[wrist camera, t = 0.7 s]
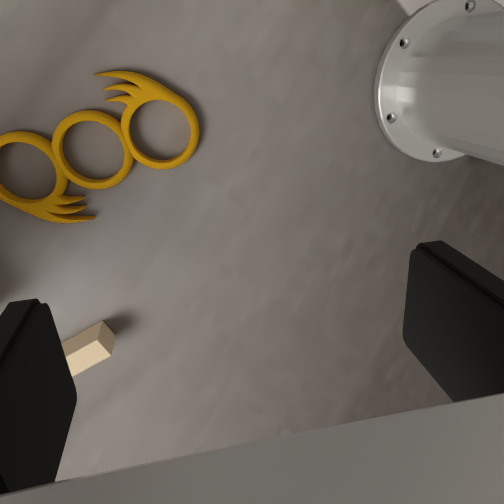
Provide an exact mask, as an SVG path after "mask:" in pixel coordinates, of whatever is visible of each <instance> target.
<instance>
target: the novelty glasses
mask: <svg viewBox="0 0 504 504" xmlns="http://www.w3.org/2000/svg"><path fill="white" fill-rule="evenodd" d="M95 75H97V76H111V77H117V78H121V79H126V80H128V81H130V82H133V83H134V84H136V85H132V84H115V85H112V86H109V87H107V88H105V89H103V90H123V91H125V92H128V93H129V94H130V95H120V96H116V97H113V98H110V99H107V100H104V101H119V102H124V103H126V104H127V106H126V108H125V109H124V112H123V114H122V117H121V123H120V122H119V121H118V120H116V119H115V118H113V117H112V116H110V115H108V114H106V113H103V112H99V111H94V110H83V111H79V112H76V113H73V114H71V115H69V116H67V117H66V118H65V119H63V120H62V121H61V122H60V123H59V125H58V126H57V128H56V130H55V132H54V134H53V138H52V143H51V142H50V141H49V140H47V139H46V138H44V137H42V136H40V135H37V134H34V133H31V132H25V131H14V132H9V133H6V134H3V135H1V136H0V148H1V147H2V146H4V145H5V144H7V143H11V142H23V143H28V144H31V145H33V146H35V147H37V148H39V149H40V150H42V151H43V152H44V153H45V154H46V155H47V156H48V157H49V158H50V159H51V161H52V163H53V165H54V167H55V170H56V175H57V181H56V186H55V188H54V190H53V192H52V193H51V194H50V195H48V196H46V197H44V198H41V199H33V200H31V199H24V198H21V197H18V196H16V195H14V194H12V193H10V192H9V191H8V190H7V189H5V187H4V186H3V185H2V184H1V183H0V199H1V200H2V201H4V202H6V203H7V204H9V205H12V206H14V207H16V208H18V209H20V210H22V211H25V212H27V213H29V214H31V215H33V216H36V217H38V218H41V219H44V220H48V221H52V222H58V223H75V222H81V221H86V220H90V219H94V218H95V217H96V216H73V215H66V214H70V213H75V212H78V211H80V210H82V209H84V208H85V207H86V205H80V206H68V205H64V204H70V203H74V202H76V201H79V200H82V199H84V197H85V196H66V195H64V194H63V193H64V191H65V190H66V187H67V184H68V179H69V180H71V181H72V182H74V183H75V184H77V185H79V186H82V187H85V188H89V189H105V188H109V187H112V186H114V185H116V184H118V183H119V182H121V181H122V180H123V179H124V178H125V177H126V176H127V174H128V173H129V171H130V169H131V167H132V164H133V160H134V158H135V159H136V160H137V161H139V162H140V163H142V164H143V165H146V166H148V167H151V168H155V169H170V168H174V167H176V166H179V165H181V164H182V163H184V162H185V161H186V160H188V159H189V158H190V156H191V155H192V154H193V152H194V151H195V149H196V146H197V143H198V140H199V124H198V120H197V117H196V115H195V113H194V111H193V109H192V108H191V106H190V105H189V104H188V103H187V102H186V101H185V100H184V99H183V98H182V97H180V96H179V95H177V94H175V93H174V92H172V91H171V90H169V89H168V88H166V87H165V86H163V85H162V84H160V83H158V82H156V81H155V80H153V79H151V78H149V77H147V76H144V75H141V74H138V73H135V72H129V71H111V72H104V73H99V74H95ZM151 100H164V101H168V102H171V103H173V104H175V105H176V106H177V107H179V108H180V109H181V110H182V111H183V112H184V114H185V115H186V116H187V118H188V120H189V123H190V128H191V135H190V140H189V143H188V145H187V147H186V148H185V150H184V151H183V152H182V153H181V154H180V155H178V156H176V157H174V158H172V159H169V160H156V159H153V158H149V157H148V156H146V155H144V154H143V153H142V152H141V151H140V150H139V149H138V148H137V147H136V146H135V144H134V142H133V140H132V138H131V134H130V121H131V117H132V115H133V113H134V111H135V110H136V109H137V108H138V107H139V106H140V105H142V104H143V103H145V102H148V101H151ZM80 121H96V122H99V123H102V124H104V125H106V126H108V127H109V128H110V129H112V130H113V131H114V132H115V133H116V134H117V136H118V137H119V139H120V140H121V142H122V145H123V148H124V163H123V166H122V168H121V169H120V170H119V171H118V172H117V173H116V174H115V175H113V176H111V177H109V178H106V179H101V180H98V179H90V178H86V177H84V176H82V175H80V174H78V173H77V172H76V171H74V170H73V169H72V168H71V166H70V165H69V164H68V162H67V160H66V159H65V156H64V153H63V139H64V136H65V133H66V132H67V130H68V129H69V127H71V126H72V125H73V124H75V123H77V122H80Z"/></svg>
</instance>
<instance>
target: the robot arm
mask: <svg viewBox="0 0 504 504" xmlns="http://www.w3.org/2000/svg"><path fill="white" fill-rule="evenodd" d="M400 40H401V41H402V44H401V46H400ZM374 103H375V112H376V115H377V118H378V122H379V125H380V127H381V129H382V131H383V133H384V134H385V136H386V138H387V139H388V140H389V141H390V142H391V143H392V145H393V146H394V147H396V148H397V149H398V150H400V151H401V152H402V153H404V154H406V155H409V156H411V157H413V158H416V159H419V160H423V161H428V162H442V161H449V160H453V159H456V158H459V157H462V156H464V155H466V154H467V155H470V156H473V157H477V158H480V159H483V160H486V161H489V162H493V163H496V164H499V165H502V166H504V8H503V7H502V6H501V5H500V4H498V3H497V2H495V1H493V0H435V1H432V2H431V3H429V4H427V5H425V6H424V7H422V8H420V9H418V10H417V11H416V12H415V13H413V14H412V15H411V16H410V17H409V18H408V19H406V20H405V21H404V23H403V24H402V25H401V26H400V27H399V28H398V30H397V31H396V32H395V33H394V35H393V36H392V38H391V40H390V41H389V43H388V45H387V46H386V48H385V50H384V53H383V55H382V58H381V60H380V62H379V66H378V70H377V74H376V78H375V87H374ZM388 114H389V118H388V119H387V116H388ZM403 339H404V342H405V344H406V345H407V347H408V348H409V349H410V350H411V352H412V353H413V354H414V355H415V356H416V358H417V359H418V360H419V361H420V362H421V364H422V365H423V366H424V367H425V368H426V370H427V371H428V372H429V373H430V374H431V376H432V377H433V378H434V379H435V380H436V382H437V383H438V384H439V385H440V386H441V388H442V389H443V390H444V391H445V392H446V394H447V395H448V396H449V397H450V398H451V400H452V401H453V403H448V404H443V405H437V406H432V407H427V408H422V409H417V410H412V411H407V412H402V413H397V414H392V415H387V416H382V417H377V418H372V419H367V420H362V421H357V422H352V423H347V424H342V425H336V426H331V427H326V428H321V429H316V430H311V431H306V432H301V433H296V434H291V435H286V436H281V437H276V438H271V439H266V440H261V441H256V442H251V443H246V444H241V445H235V446H230V447H225V448H220V449H215V450H210V451H205V452H200V453H195V454H190V455H185V456H180V457H175V458H170V459H165V460H161V461H156V462H151V463H146V464H141V465H136V466H131V467H126V468H121V469H116V470H111V471H107V472H102V473H97V474H92V475H87V476H82V477H77V478H72V479H67V480H62V481H58V482H55V478H56V475H57V471H58V468H59V464H60V460H61V457H62V453H63V450H64V446H65V442H66V439H67V435H68V432H69V428H70V424H71V421H72V417H73V414H74V410H75V406H76V402H77V393H76V388H75V385H74V382H73V378H72V375H71V372H70V369H69V366H68V363H67V360H66V357H65V354H64V351H63V348H62V344H61V341H60V338H59V335H58V332H57V329H56V326H55V323H54V320H53V317H52V314H51V310H50V308H49V306H48V304H46V303H42V304H41V303H40V301H39V300H38V299H29V300H22V301H15V302H10V303H9V304H8V305H7V307H6V308H5V310H4V311H3V313H2V314H1V315H0V504H504V281H503V280H501V279H500V278H498V277H497V276H495V275H494V274H492V273H491V272H489V271H488V270H486V269H485V268H483V267H481V266H480V265H478V264H477V263H475V262H474V261H472V260H471V259H469V258H468V257H466V256H465V255H463V254H462V253H460V252H459V251H457V250H456V249H454V248H452V247H451V246H449V245H448V244H446V243H445V242H443V241H441V240H440V241H432V242H426V243H419V244H418V245H417V247H416V249H414V250H412V252H411V254H410V262H409V272H408V282H407V292H406V303H405V313H404V323H403Z"/></svg>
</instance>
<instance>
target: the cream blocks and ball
mask: <svg viewBox="0 0 504 504" xmlns="http://www.w3.org/2000/svg"><path fill="white" fill-rule="evenodd" d="M114 339H115V335H114V333H113V332H112V331H111V330H110V329H109V328H108V326H107V325H106V324H105V323H104V322H103V321H101V322H99V323H97V324H95V325H93V326H92V327H90V328H88V329H86V330H84V331H82V332H81V333H79V334H77V335H75V336H73V337H71V338H70V339H68V340H66V341H64V342H62V343H61V344H62V348H63V351H64V354H65V357H66V360H67V363H68V366H69V369H70V372H71V375H72V376H74V375H76V374H78V373H80V372H82V371H83V370H85V369H87V368H89V367H91V366H93V365H95V364H96V363H98V362H100V361H102V360H104V359H106V358H108V357H109V356H111V353H112V349H113V344H114Z"/></svg>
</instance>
